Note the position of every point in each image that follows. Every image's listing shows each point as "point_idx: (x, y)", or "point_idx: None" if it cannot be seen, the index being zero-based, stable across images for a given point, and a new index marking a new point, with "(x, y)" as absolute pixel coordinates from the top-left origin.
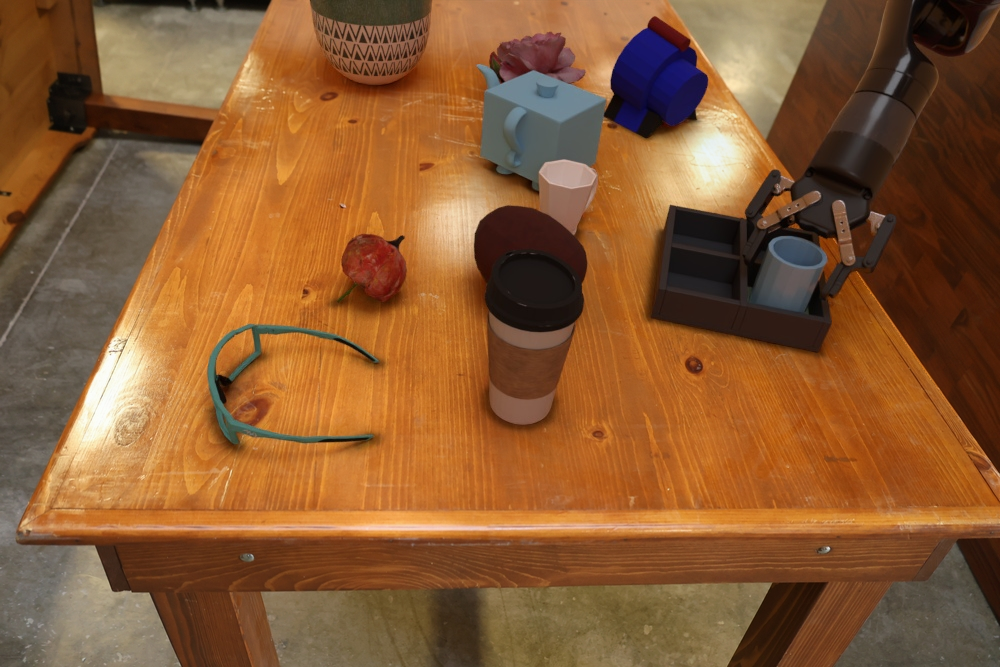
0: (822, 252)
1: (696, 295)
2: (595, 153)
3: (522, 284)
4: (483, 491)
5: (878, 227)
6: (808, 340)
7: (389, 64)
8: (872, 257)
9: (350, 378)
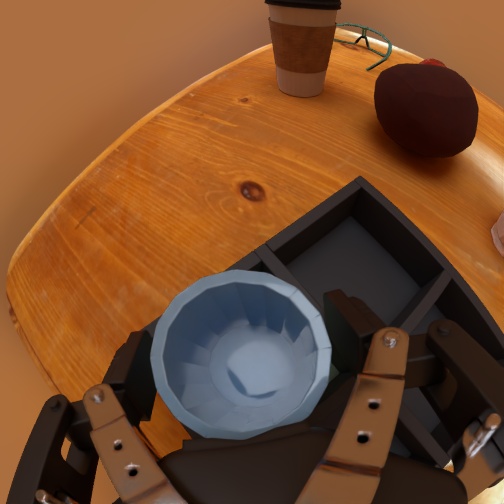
0: (189, 418)
1: (322, 202)
2: None
3: None
4: (253, 62)
5: (38, 490)
6: None
7: None
8: (48, 414)
9: (359, 63)
